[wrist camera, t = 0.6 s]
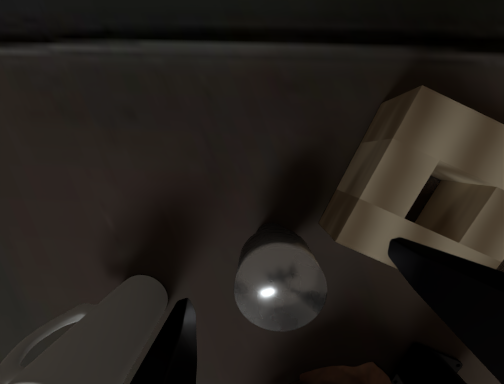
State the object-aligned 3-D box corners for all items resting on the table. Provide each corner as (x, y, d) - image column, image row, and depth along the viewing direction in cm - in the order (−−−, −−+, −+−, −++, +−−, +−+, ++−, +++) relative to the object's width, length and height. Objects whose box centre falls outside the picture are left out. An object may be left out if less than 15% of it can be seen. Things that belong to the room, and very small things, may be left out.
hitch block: (500, 159, 20) (577, 159, 16) (426, 270, 23) (472, 301, 18) (381, 103, 20) (422, 85, 15) (318, 223, 22) (335, 241, 17)
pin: (310, 226, 22) (343, 270, 14) (285, 273, 24) (301, 344, 15) (257, 203, 22) (256, 233, 13) (234, 252, 23) (220, 310, 14)
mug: (173, 277, 24) (91, 393, 12) (167, 324, 25) (88, 470, 13) (93, 262, 24) (-66, 364, 12) (91, 310, 25) (-56, 443, 13)
